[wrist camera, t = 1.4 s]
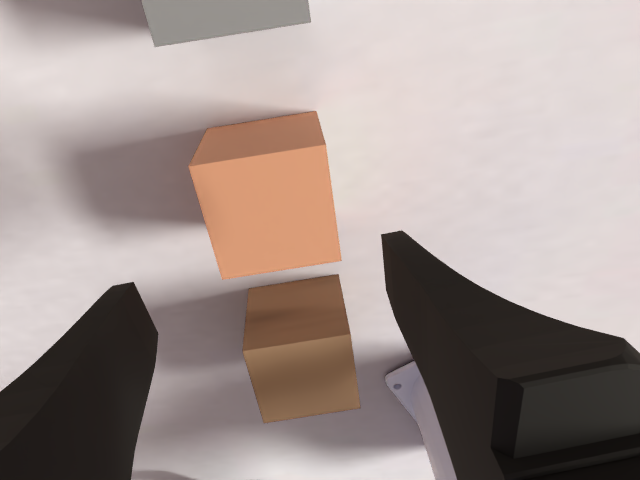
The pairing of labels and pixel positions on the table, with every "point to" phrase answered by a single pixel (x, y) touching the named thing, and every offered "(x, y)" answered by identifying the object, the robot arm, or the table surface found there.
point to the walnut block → (300, 349)
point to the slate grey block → (218, 18)
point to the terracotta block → (267, 195)
